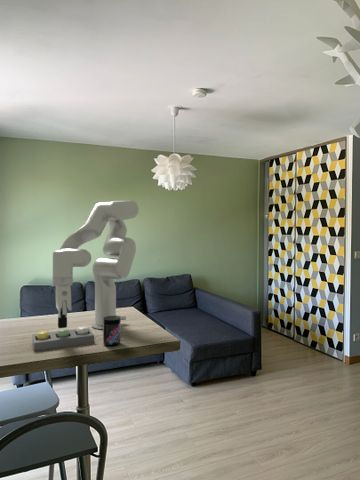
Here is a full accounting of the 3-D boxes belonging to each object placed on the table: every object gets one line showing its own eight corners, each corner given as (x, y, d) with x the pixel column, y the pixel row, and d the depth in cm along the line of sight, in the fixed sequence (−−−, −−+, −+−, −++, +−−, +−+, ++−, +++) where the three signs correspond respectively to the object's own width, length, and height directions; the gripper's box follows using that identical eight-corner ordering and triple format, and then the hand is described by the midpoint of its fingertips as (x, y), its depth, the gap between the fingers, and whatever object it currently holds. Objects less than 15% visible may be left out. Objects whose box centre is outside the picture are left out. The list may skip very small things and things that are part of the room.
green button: (68, 334, 141) (68, 328, 141) (69, 337, 137) (69, 331, 137) (56, 335, 139) (56, 329, 139) (58, 338, 135) (58, 332, 135)
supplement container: (102, 347, 133) (102, 320, 132) (103, 341, 139) (103, 315, 139) (120, 346, 134) (120, 320, 133) (120, 340, 140) (120, 315, 140)
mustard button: (48, 336, 138) (48, 330, 137) (49, 340, 134) (49, 333, 134) (36, 338, 136) (36, 331, 136) (37, 341, 132) (37, 335, 132)
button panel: (88, 334, 148) (88, 327, 148) (94, 342, 138) (94, 335, 138) (32, 341, 138) (32, 334, 138) (34, 351, 128) (34, 343, 128)
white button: (86, 331, 144) (86, 326, 144) (89, 335, 140) (89, 328, 140) (75, 333, 142) (75, 327, 142) (77, 336, 138) (77, 330, 138)
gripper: (75, 283, 132) (75, 331, 132) (69, 278, 145) (69, 321, 146) (54, 284, 129) (54, 333, 129) (50, 279, 142) (50, 323, 143)
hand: (62, 327), depth 137 cm, fingers closed
